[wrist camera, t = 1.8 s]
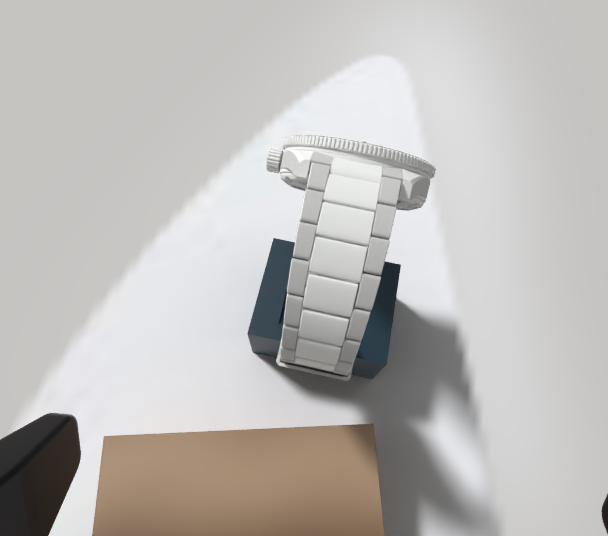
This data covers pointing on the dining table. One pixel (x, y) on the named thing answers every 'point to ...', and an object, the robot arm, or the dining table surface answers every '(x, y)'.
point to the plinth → (241, 483)
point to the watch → (336, 256)
